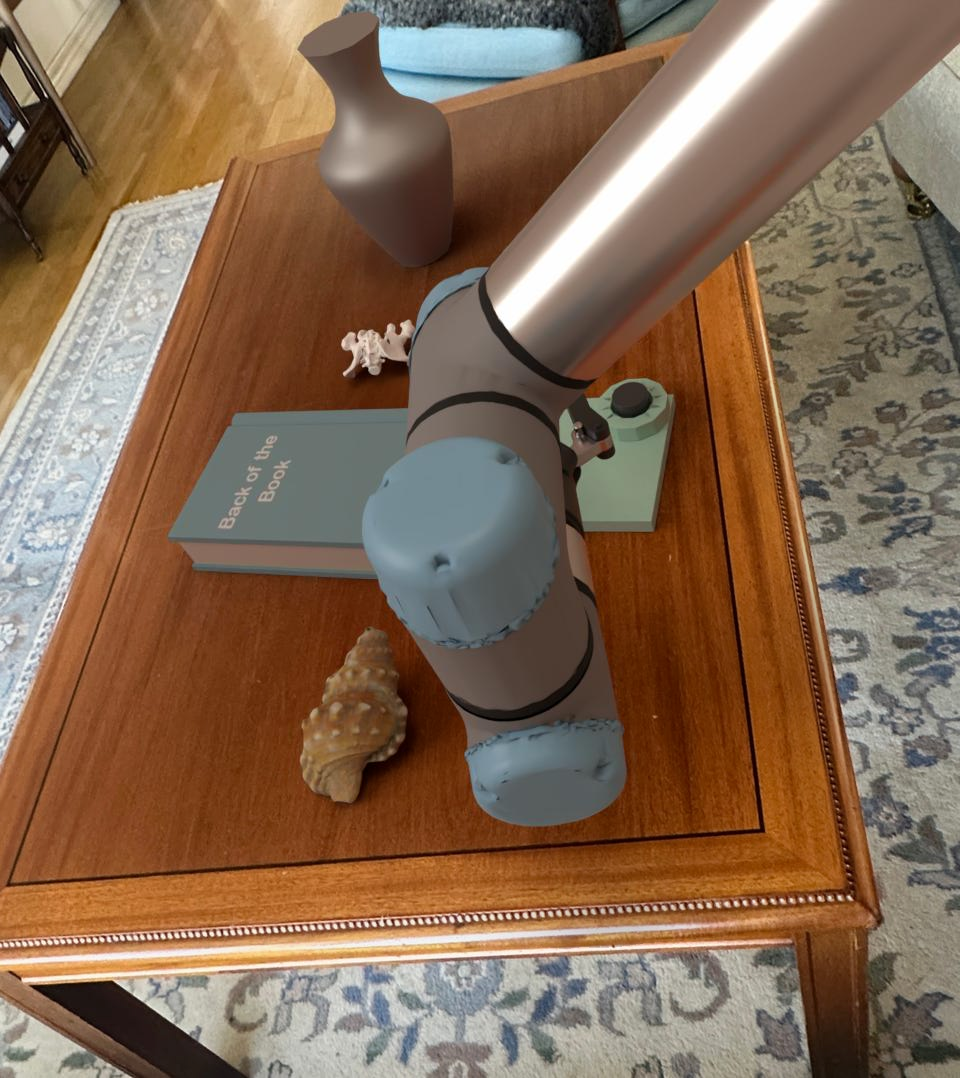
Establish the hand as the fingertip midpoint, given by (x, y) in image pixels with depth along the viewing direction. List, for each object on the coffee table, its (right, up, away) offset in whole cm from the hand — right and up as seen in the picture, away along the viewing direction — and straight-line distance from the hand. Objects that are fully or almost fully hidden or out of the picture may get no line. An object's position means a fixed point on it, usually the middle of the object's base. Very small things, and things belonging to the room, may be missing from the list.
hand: (489, 307), depth 71 cm
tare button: (+12, -6, +11) cm, 18 cm away
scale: (+7, -11, +13) cm, 18 cm away
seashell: (-9, -31, +2) cm, 33 cm away
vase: (-7, +16, +41) cm, 45 cm away
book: (-14, -14, +19) cm, 27 cm away
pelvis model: (-11, +1, +30) cm, 32 cm away
